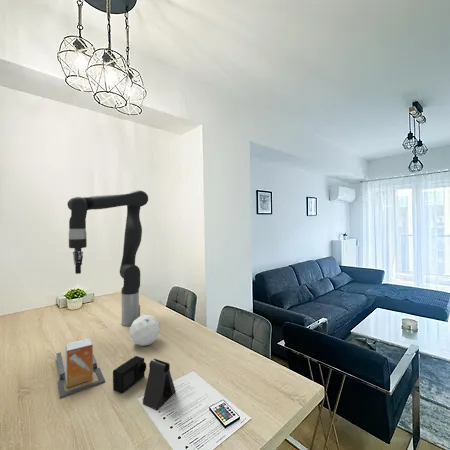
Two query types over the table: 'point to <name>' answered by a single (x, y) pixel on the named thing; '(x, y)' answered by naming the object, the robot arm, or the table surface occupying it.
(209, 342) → the table surface
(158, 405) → the phone stand
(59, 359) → the grey u-shaped frame
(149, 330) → the geodesic sphere
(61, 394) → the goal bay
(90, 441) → the table surface
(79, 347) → the small box
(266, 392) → the table surface
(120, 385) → the digital camera
